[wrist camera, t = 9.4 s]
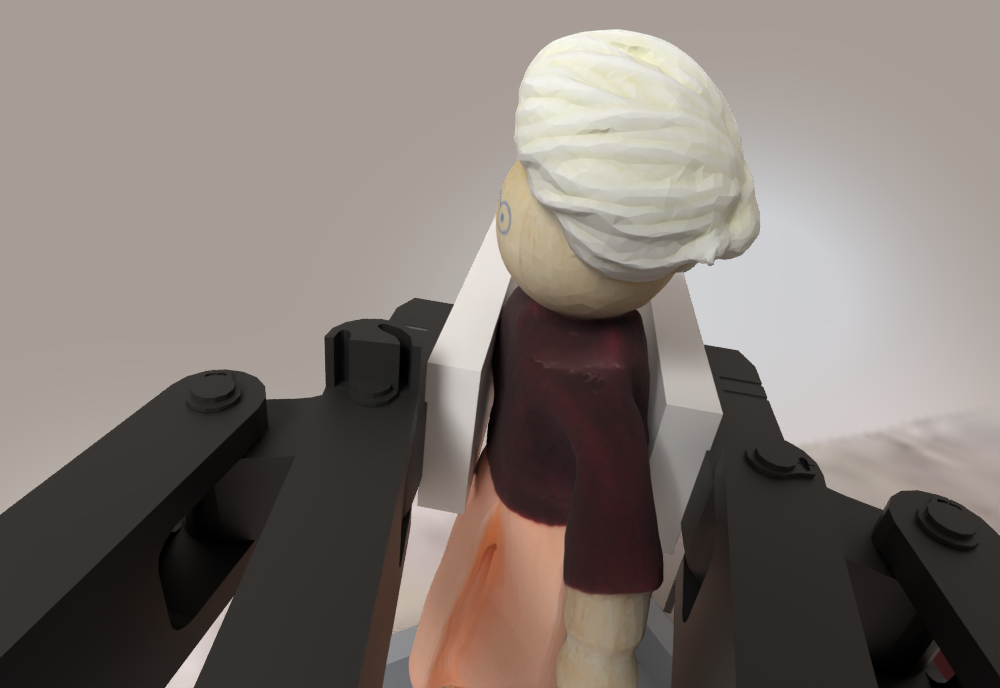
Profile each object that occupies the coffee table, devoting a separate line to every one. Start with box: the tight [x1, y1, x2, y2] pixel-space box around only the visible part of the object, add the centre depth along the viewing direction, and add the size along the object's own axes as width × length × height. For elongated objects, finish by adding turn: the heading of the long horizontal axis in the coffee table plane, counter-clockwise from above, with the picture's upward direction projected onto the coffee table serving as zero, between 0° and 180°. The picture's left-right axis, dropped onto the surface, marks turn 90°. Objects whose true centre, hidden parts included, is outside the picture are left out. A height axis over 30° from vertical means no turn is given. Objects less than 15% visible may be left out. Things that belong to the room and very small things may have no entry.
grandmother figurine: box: [409, 29, 760, 688], centre depth 10 cm, size 8×4×13 cm, turn 15°
